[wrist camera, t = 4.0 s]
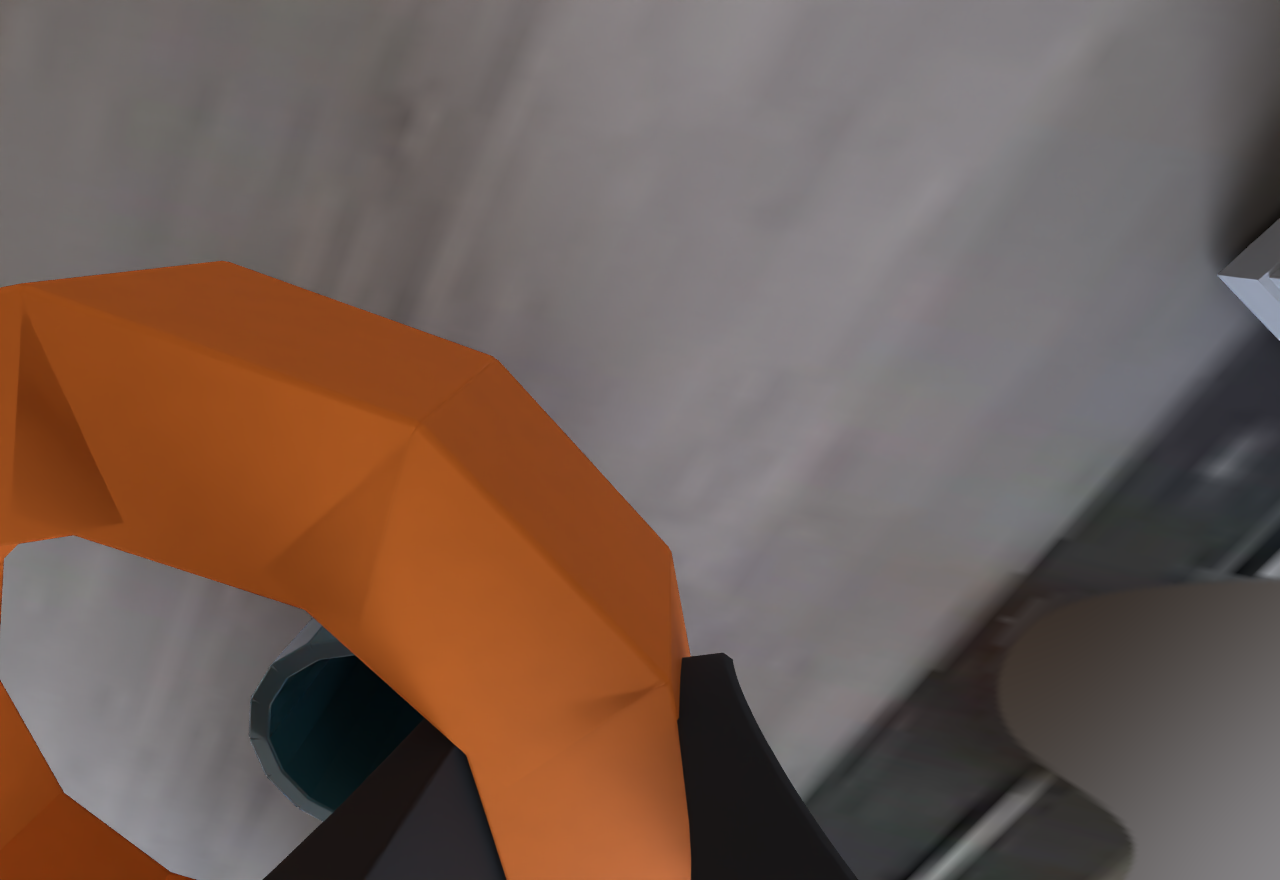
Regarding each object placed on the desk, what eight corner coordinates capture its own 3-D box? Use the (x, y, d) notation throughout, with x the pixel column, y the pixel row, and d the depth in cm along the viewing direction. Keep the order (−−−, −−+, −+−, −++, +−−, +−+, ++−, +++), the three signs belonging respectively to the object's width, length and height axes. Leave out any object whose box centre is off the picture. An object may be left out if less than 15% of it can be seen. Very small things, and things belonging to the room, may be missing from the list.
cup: (479, 719, 20) (420, 874, 16) (322, 628, 20) (209, 763, 15) (576, 595, 19) (543, 726, 14) (409, 491, 18) (314, 592, 13)
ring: (78, 1016, 14) (-74, 1225, 11) (-336, 369, 10) (-759, 436, 7) (746, 961, 13) (769, 1182, 10) (604, 187, 8) (570, 174, 5)
